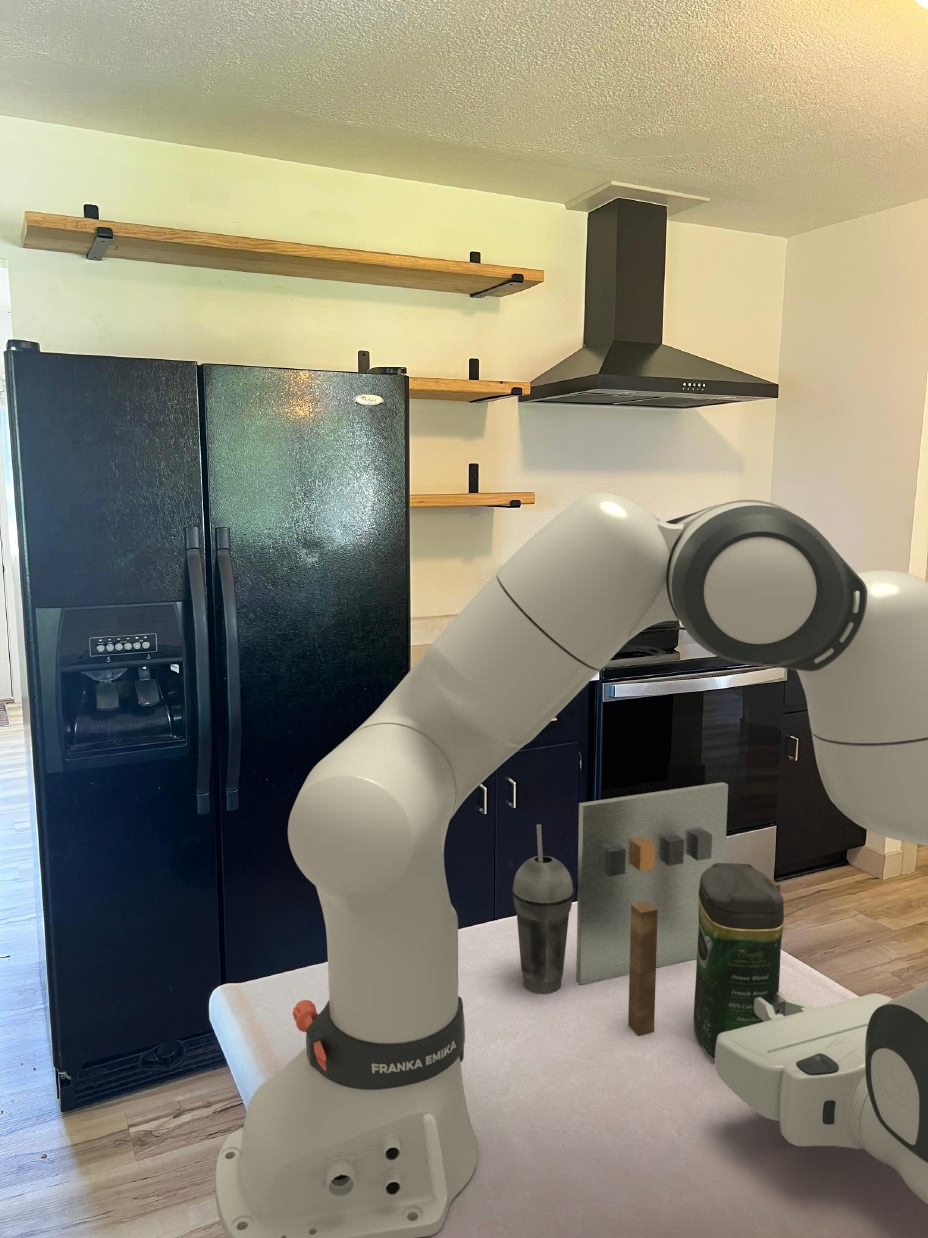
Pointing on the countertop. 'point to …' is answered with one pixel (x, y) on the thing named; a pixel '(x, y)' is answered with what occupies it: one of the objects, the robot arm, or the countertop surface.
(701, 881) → the coffee jar
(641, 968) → the gate
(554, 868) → the beverage cup
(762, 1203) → the countertop surface
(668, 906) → the breaker panel
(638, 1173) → the countertop surface
